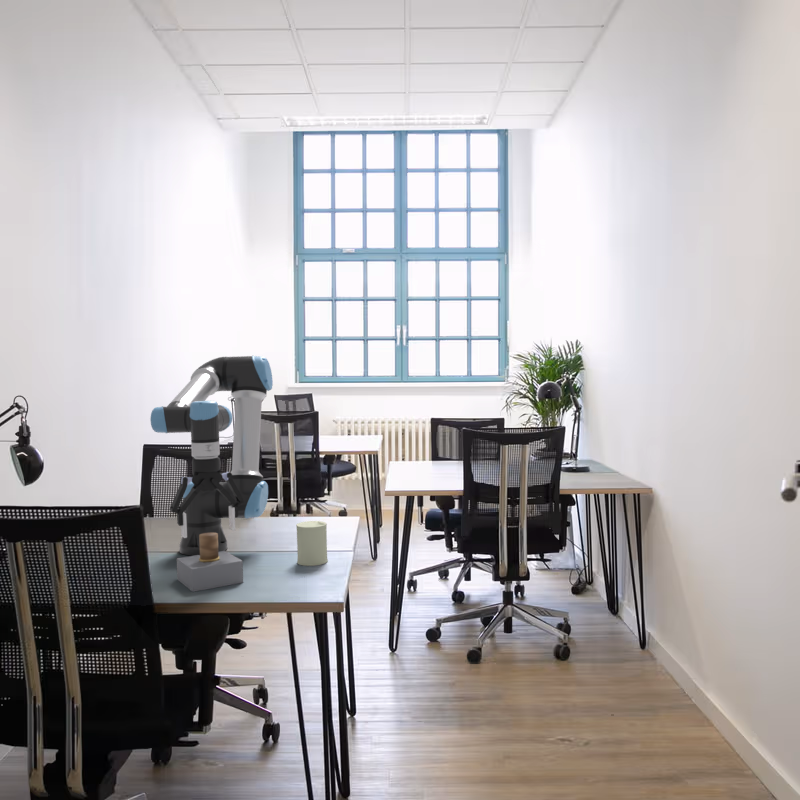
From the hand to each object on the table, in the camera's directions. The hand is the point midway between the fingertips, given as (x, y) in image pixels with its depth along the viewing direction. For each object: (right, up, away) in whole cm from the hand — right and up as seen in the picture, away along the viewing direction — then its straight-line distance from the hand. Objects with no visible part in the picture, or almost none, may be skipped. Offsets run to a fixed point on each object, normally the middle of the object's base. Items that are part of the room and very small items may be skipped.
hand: (208, 533), depth 204 cm
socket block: (0, -13, 0) cm, 13 cm away
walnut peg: (0, -13, 0) cm, 13 cm away
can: (+27, -12, +19) cm, 35 cm away
